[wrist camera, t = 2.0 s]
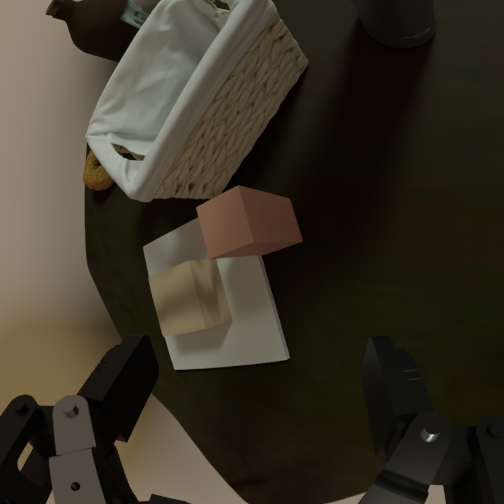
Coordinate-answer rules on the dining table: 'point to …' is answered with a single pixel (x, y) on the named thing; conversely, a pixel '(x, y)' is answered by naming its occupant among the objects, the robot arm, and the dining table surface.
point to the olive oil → (101, 24)
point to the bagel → (97, 174)
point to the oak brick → (190, 297)
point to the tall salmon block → (247, 223)
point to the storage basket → (193, 97)
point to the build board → (239, 300)
